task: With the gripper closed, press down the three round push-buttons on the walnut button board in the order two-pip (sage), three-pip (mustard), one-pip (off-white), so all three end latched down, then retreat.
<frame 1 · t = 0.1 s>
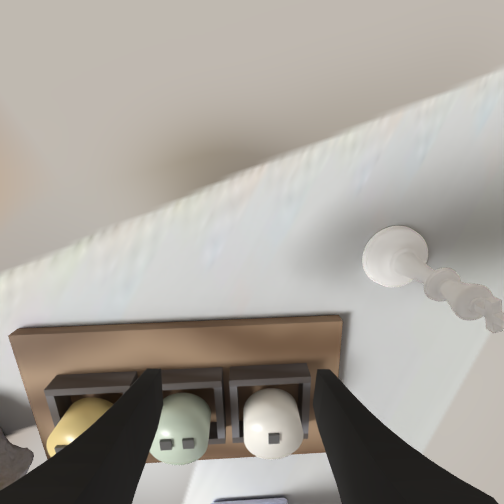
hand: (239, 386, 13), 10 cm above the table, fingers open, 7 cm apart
button three: (86, 434, 21), point 4 cm above the table, slide at 0.0 cm
button board: (189, 391, 25), on the table
chess piece: (391, 255, 22), on the table
button one: (272, 424, 22), point 4 cm above the table, slide at 0.0 cm
button two: (180, 429, 21), point 4 cm above the table, slide at 0.0 cm
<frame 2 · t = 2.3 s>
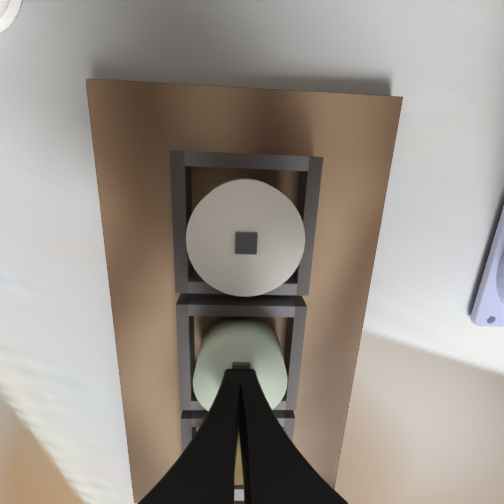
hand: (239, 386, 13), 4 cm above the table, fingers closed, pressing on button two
button three: (236, 482, 15), point 4 cm above the table, slide at 0.0 cm
button board: (240, 332, 17), on the table
button one: (245, 235, 11), point 4 cm above the table, slide at 0.0 cm
button two: (240, 367, 14), point 3 cm above the table, slide at 0.7 cm, touching gripper
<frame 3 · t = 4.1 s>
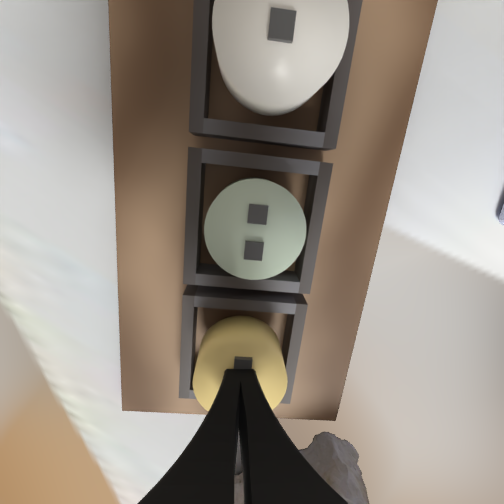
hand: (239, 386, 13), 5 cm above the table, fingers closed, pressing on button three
button three: (240, 367, 14), point 4 cm above the table, slide at 0.1 cm, touching gripper
stone: (291, 465, 22), on the table
button board: (251, 217, 16), on the table
button one: (276, 41, 10), point 4 cm above the table, slide at 0.0 cm
button two: (254, 227, 13), point 3 cm above the table, slide at 1.1 cm
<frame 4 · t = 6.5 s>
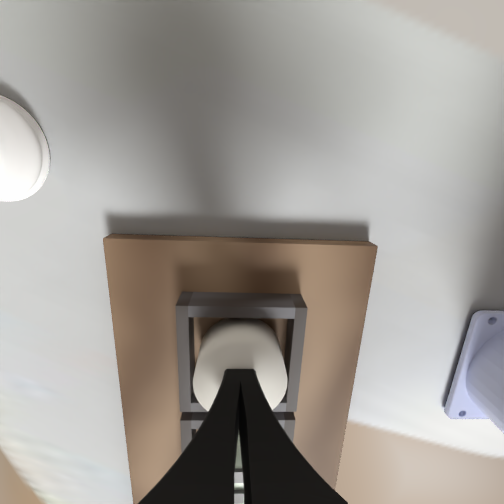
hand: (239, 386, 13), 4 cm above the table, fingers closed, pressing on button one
button board: (237, 424, 19), on the table
chess piece: (0, 149, 14), on the table
button one: (240, 368, 14), point 3 cm above the table, slide at 0.8 cm, touching gripper
button two: (236, 464, 16), point 3 cm above the table, slide at 1.1 cm
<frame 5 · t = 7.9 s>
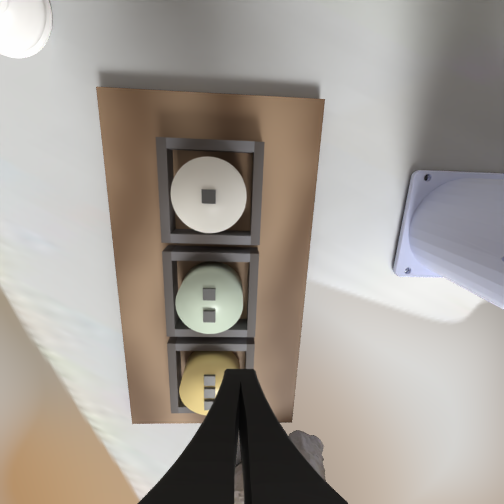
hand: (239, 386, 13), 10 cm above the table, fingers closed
button three: (211, 380, 21), point 3 cm above the table, slide at 1.1 cm
stone: (275, 457, 28), on the table
button board: (214, 282, 22), on the table
chess piece: (11, 11, 17), on the table
button one: (210, 194, 17), point 3 cm above the table, slide at 1.1 cm
button two: (211, 297, 19), point 3 cm above the table, slide at 1.1 cm
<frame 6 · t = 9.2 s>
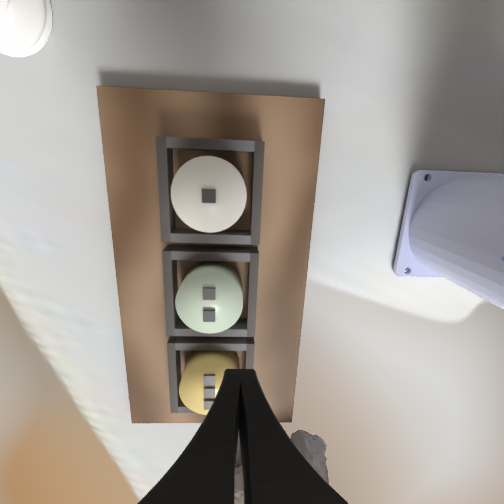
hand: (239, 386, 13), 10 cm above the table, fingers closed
button three: (211, 380, 21), point 3 cm above the table, slide at 1.1 cm
stone: (278, 457, 28), on the table
button board: (214, 281, 22), on the table
chess piece: (11, 10, 17), on the table
button one: (210, 193, 17), point 3 cm above the table, slide at 1.1 cm
button two: (210, 296, 19), point 3 cm above the table, slide at 1.1 cm
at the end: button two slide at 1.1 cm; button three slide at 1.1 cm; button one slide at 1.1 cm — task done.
